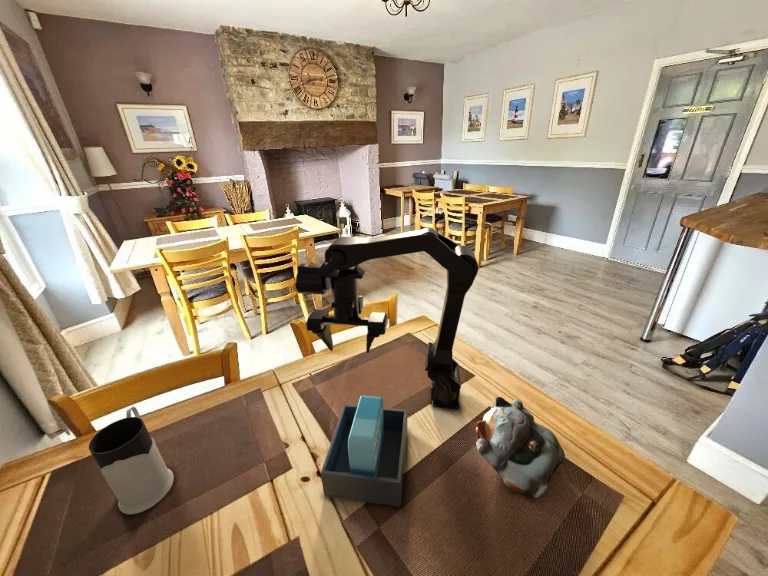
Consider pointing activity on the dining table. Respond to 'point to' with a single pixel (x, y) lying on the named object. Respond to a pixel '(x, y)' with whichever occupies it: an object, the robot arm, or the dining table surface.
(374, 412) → the light blue flat block
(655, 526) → the dining table surface
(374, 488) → the dark grey open box
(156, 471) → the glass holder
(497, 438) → the lucky cat figurine
